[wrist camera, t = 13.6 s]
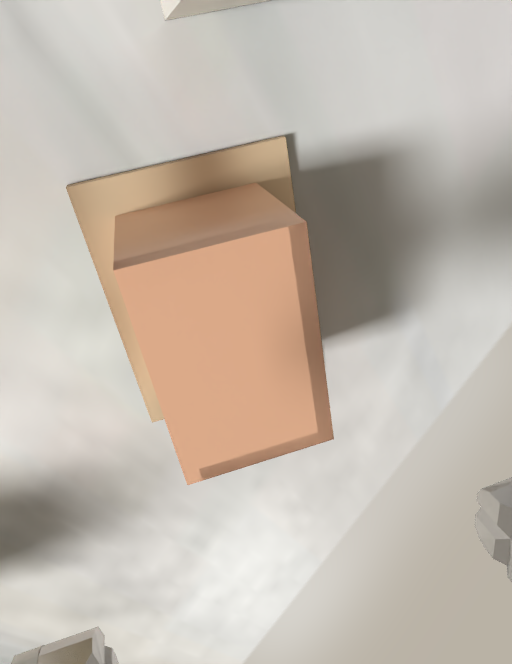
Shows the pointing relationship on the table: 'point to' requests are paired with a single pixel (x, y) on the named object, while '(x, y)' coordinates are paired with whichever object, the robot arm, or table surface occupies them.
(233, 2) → the off-white bevelled cube
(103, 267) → the cork pad
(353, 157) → the table surface
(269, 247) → the pink paneled box
